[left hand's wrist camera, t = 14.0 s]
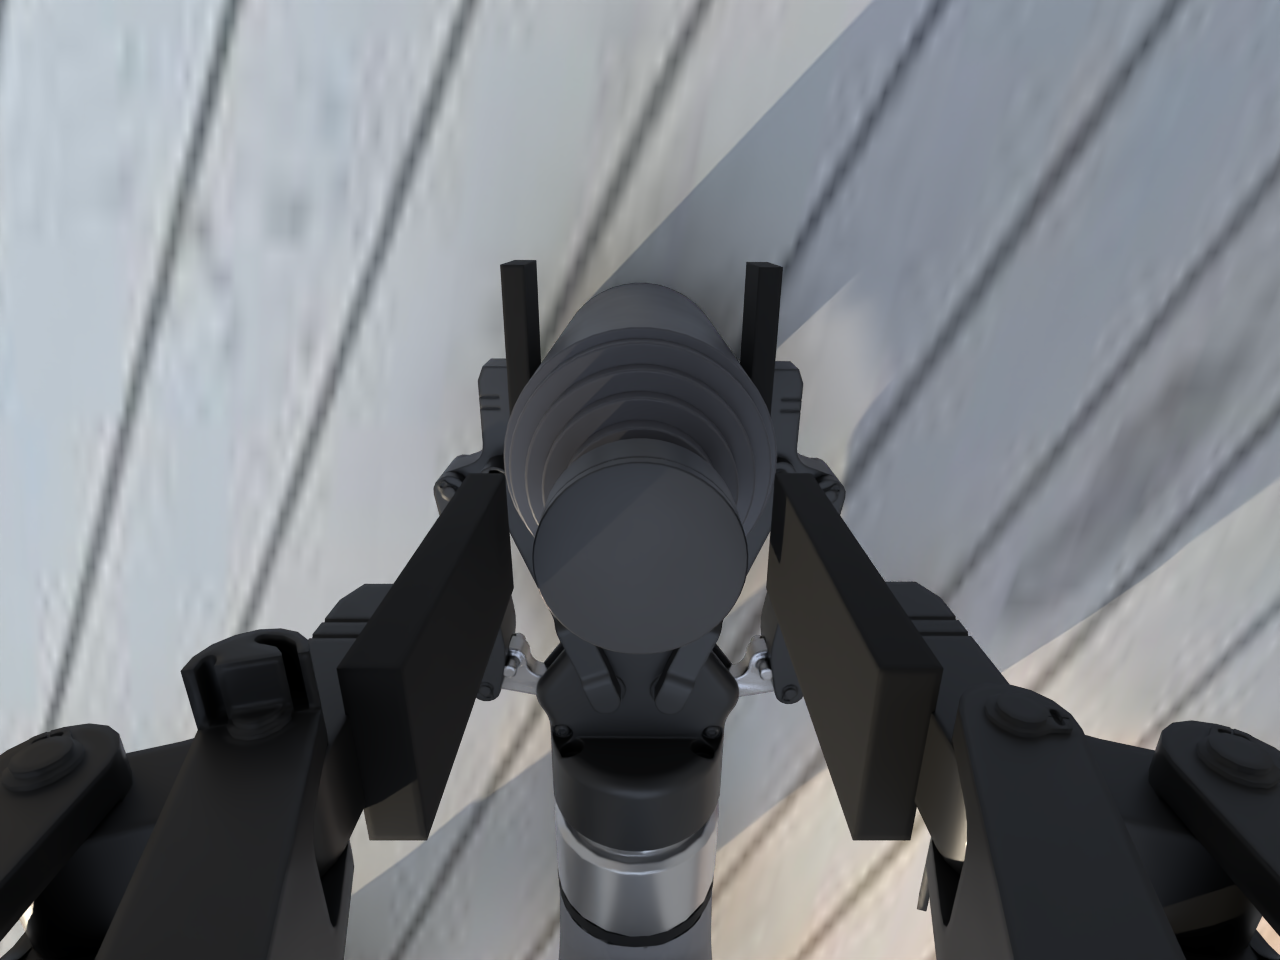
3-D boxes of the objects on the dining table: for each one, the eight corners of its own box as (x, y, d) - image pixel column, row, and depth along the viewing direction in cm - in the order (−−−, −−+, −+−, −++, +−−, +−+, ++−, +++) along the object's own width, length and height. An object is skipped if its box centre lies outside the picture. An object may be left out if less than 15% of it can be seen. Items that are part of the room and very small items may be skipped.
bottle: (675, 471, 32) (715, 751, 15) (532, 404, 31) (401, 627, 14) (752, 330, 30) (901, 474, 13) (600, 252, 29) (541, 297, 12)
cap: (682, 640, 16) (686, 683, 14) (512, 569, 15) (499, 606, 13) (773, 488, 14) (789, 518, 13) (592, 403, 14) (586, 424, 12)
